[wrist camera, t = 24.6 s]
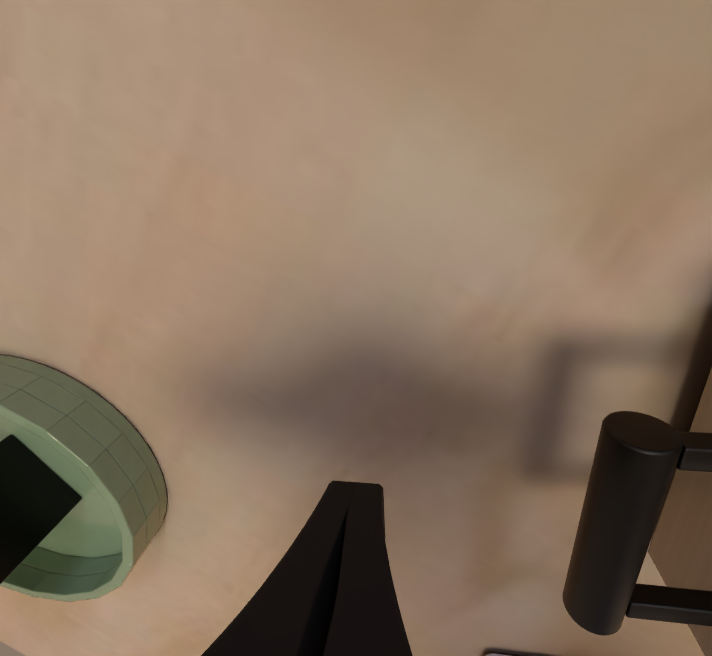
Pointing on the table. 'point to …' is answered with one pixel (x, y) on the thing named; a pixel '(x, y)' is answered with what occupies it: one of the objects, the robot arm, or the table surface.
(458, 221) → the table surface
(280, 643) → the robot arm
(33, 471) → the iron block
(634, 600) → the drawer
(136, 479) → the dish
